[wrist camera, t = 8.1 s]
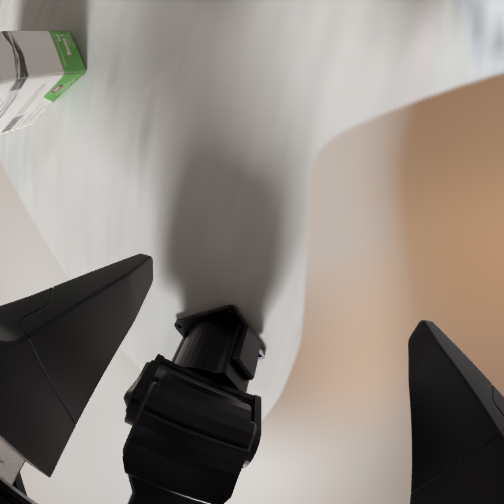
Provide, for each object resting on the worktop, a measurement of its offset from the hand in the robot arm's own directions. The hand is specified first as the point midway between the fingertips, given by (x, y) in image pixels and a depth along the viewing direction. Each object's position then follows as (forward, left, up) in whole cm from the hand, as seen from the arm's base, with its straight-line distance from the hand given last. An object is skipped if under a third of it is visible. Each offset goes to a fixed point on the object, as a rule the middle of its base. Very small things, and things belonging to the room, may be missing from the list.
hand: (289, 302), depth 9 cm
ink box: (-14, +18, -12) cm, 26 cm away
